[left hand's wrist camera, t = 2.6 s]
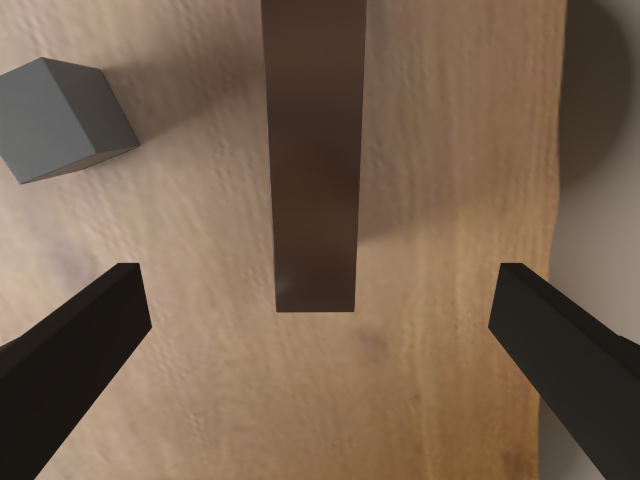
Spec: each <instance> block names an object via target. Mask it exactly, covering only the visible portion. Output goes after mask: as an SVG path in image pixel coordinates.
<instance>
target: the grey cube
mask: <svg viewBox="0 0 640 480" xmlns="http://www.w3.org/2000/svg"><path fill="white" fill-rule="evenodd" d="M139 146H140V143H139V141H138V140H137V138H136V136H135V134H134V132H133V130H132V128H131V126H130V124H129V122H128V121H127V119H126V117H125V115H124V113H123V111H122V109H121V107H120V105H119V103H118V102H117V100H116V98H115V96H114V94H113V92H112V90H111V88H110V86H109V84H108V83H107V81H106V79H105V77H104V75H103V73H102V71H101V70H100V69H97V68H92V67H87V66H82V65H77V64H73V63H68V62H63V61H58V60H53V59H48V58H44V57H41V58H39V59H36V60H34V61H32V62H30V63H28V64H25V65H23V66H21V67H19V68H16V69H14V70H12V71H10V72H7V73H5V74H3V75H1V76H0V156H1V157H2V159H3V160H4V162H5V163H6V165H7V166H8V168H9V169H10V171H11V172H12V174H13V175H14V177H15V178H16V180H17V181H18V183H19V184H26V183H30V182H34V181H38V180H42V179H47V178H51V177H55V176H59V175H63V174H68V173H72V172H76V171H79V170H82V169H84V168H87V167H89V166H92V165H94V164H97V163H99V162H102V161H104V160H107V159H109V158H112V157H114V156H117V155H119V154H122V153H124V152H127V151H129V150H132V149H134V148H137V147H139Z"/></svg>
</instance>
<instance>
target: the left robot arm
mask: <svg viewBox="0 0 640 480" xmlns="http://www.w3.org/2000/svg"><path fill="white" fill-rule="evenodd" d="M151 328H152V325H151V320H150V315H149V310H148V305H147V300H146V295H145V290H144V285H143V280H142V275H141V270H140V265H139V263H117V264H116V265H115V266H113V267H112V268H111V269H109V270H108V271H107V272H105V273H104V274H103V275H101V276H100V277H99V278H97V279H96V280H95V281H94V282H92V283H91V284H90V285H88V286H87V287H86V288H84V289H83V290H82V291H80V292H79V293H78V294H76V295H75V296H74V297H72V298H71V299H70V300H68V301H67V302H66V303H64V304H63V305H62V306H60V307H59V308H58V309H56V310H55V311H54V312H52V313H51V314H50V315H48V316H47V317H46V318H44V319H43V320H42V321H40V322H39V323H38V324H36V325H35V326H34V327H33V328H31V329H30V330H29V331H27V332H26V333H25V334H23V335H22V336H21V337H19V338H17V339H15V340H13V341H11V342H9V343H7V344H5V345H3V346H1V347H0V480H34V479H35V478H36V477H37V475H38V474H39V473H40V471H41V470H42V469H43V468H44V466H45V465H46V464H47V462H48V461H49V460H50V459H51V457H52V456H53V455H54V453H55V452H56V451H57V450H58V448H59V447H60V446H61V444H62V443H63V442H64V440H65V439H66V438H67V437H68V435H69V434H70V433H71V431H72V430H73V429H74V428H75V426H76V425H77V424H78V422H79V421H80V420H81V419H82V417H83V416H84V415H85V413H86V412H87V411H88V409H89V408H90V407H91V406H92V404H93V403H94V402H95V400H96V399H97V398H98V397H99V395H100V394H101V393H102V391H103V390H104V389H105V388H106V386H107V385H108V384H109V382H110V381H111V380H112V379H113V377H114V376H115V375H116V373H117V372H118V371H119V369H120V368H121V367H122V366H123V364H124V363H125V362H126V360H127V359H128V358H129V357H130V355H131V354H132V353H133V351H134V350H135V349H136V348H137V346H138V345H139V344H140V342H141V341H142V340H143V338H144V337H145V336H146V335H147V333H148V332H149V331H150V329H151ZM488 328H489V329H490V331H491V332H492V333H493V335H494V336H495V337H496V338H497V340H498V341H499V342H500V344H501V345H502V346H503V348H504V349H505V350H506V351H507V353H508V354H509V355H510V357H511V358H512V359H513V360H514V362H515V363H516V364H517V366H518V367H519V368H520V369H521V371H522V372H523V373H524V375H525V376H526V377H527V379H528V380H529V381H530V382H531V384H532V385H533V386H534V388H535V389H536V390H537V391H538V393H539V394H540V395H541V397H542V398H543V399H544V400H545V402H546V403H547V404H548V406H549V407H550V408H551V409H552V411H553V412H554V413H555V415H556V416H557V417H558V418H559V420H560V421H561V422H562V424H563V425H564V426H565V428H566V429H567V430H568V431H569V433H570V434H571V435H572V437H573V438H574V439H575V440H576V442H577V443H578V444H579V446H580V447H581V448H582V450H583V451H584V452H585V453H586V455H587V456H588V457H589V458H590V460H591V461H592V462H593V464H594V465H595V466H596V468H597V469H598V470H599V471H600V473H601V474H602V475H603V477H604V478H605V479H606V480H640V345H638V344H636V343H634V342H632V341H630V340H628V339H626V338H624V337H622V336H618V335H617V334H615V333H614V332H613V331H611V330H610V329H609V328H607V327H606V326H605V325H604V324H602V323H601V322H600V321H598V320H597V319H596V318H594V317H593V316H592V315H590V314H589V313H588V312H586V311H585V310H584V309H582V308H581V307H580V306H578V305H577V304H576V303H574V302H573V301H572V300H570V299H569V298H568V297H566V296H565V295H564V294H562V293H561V292H560V291H558V290H557V289H556V288H554V287H553V286H552V285H550V284H549V283H548V282H546V281H545V280H544V279H543V278H541V277H540V276H539V275H537V274H536V273H535V272H533V271H532V270H531V269H529V268H528V267H527V266H525V265H524V264H523V263H501V265H500V270H499V275H498V280H497V285H496V290H495V295H494V300H493V305H492V310H491V315H490V320H489V325H488Z"/></svg>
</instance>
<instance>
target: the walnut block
mask: <svg viewBox="0 0 640 480" xmlns="http://www.w3.org/2000/svg"><path fill="white" fill-rule="evenodd" d="M366 2H367V0H261V17H262V37H263V57H264V78H265V98H266V118H267V138H268V158H269V178H270V198H271V218H272V238H273V258H274V278H275V298H276V312H354V308H355V283H356V257H357V232H358V206H359V181H360V155H361V130H362V104H363V79H364V53H365V28H366Z"/></svg>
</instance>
